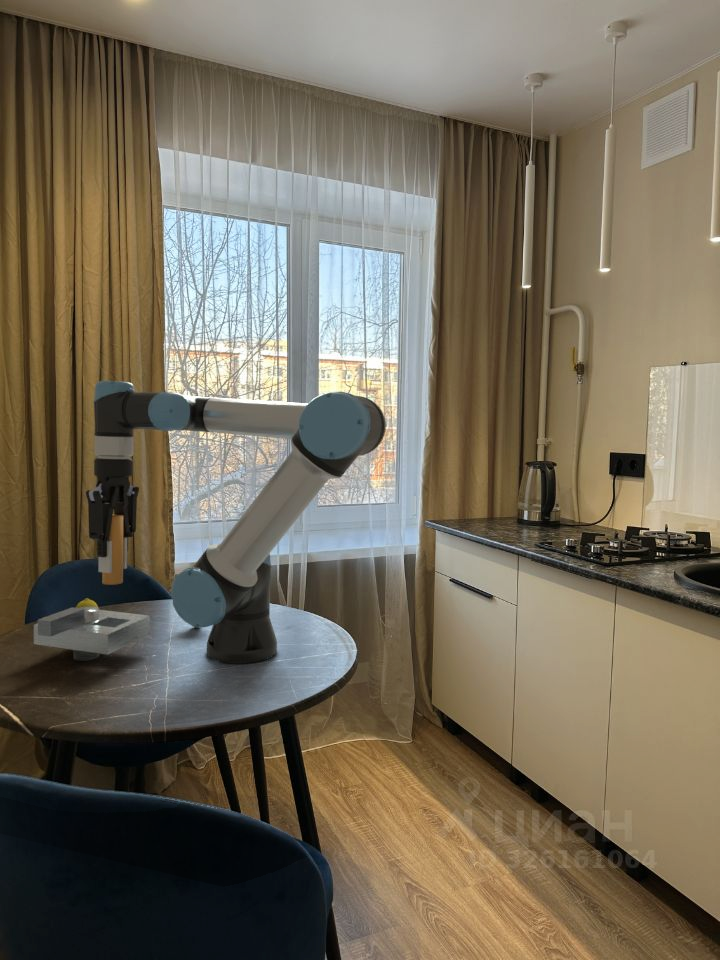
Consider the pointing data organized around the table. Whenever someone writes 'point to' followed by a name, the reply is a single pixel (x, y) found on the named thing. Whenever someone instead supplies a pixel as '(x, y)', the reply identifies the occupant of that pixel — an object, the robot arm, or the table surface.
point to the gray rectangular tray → (90, 631)
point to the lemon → (86, 603)
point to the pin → (115, 552)
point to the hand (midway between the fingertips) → (112, 569)
